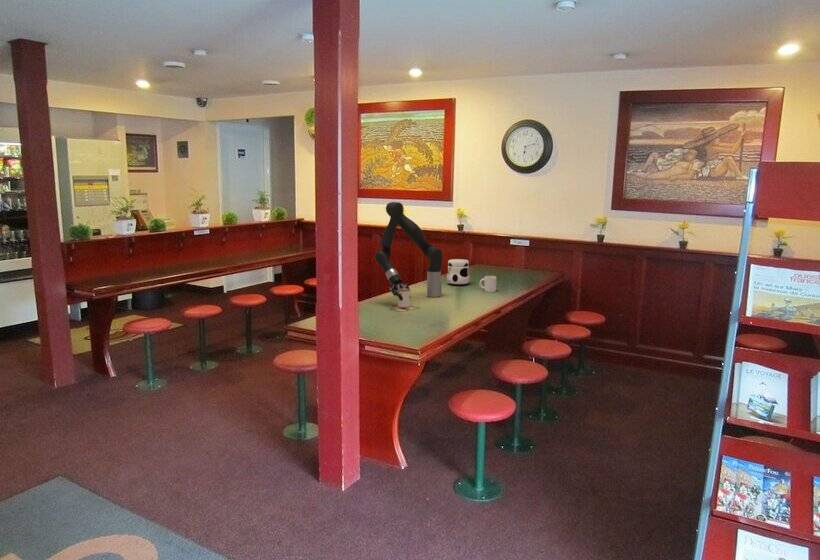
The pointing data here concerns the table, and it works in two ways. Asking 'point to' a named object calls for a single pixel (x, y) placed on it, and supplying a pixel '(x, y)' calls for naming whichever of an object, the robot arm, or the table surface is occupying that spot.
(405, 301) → the canister
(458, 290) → the table surface
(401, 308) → the mat
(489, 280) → the mug
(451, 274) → the milk container
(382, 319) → the table surface
